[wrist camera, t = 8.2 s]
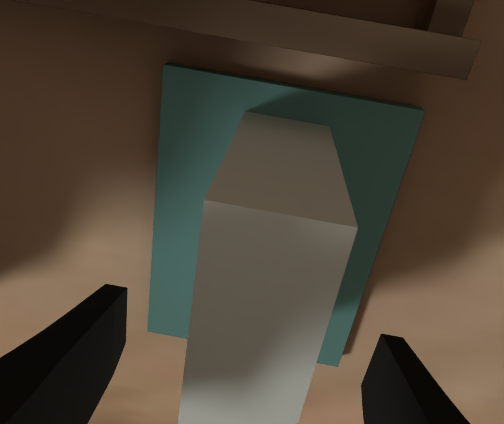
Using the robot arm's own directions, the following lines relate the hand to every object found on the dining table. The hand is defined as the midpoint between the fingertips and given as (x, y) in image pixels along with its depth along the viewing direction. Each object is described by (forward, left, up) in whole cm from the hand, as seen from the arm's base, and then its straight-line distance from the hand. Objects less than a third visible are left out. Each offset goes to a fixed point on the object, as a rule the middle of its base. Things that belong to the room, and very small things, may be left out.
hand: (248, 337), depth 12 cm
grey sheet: (0, 0, -6) cm, 6 cm away
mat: (0, 0, -6) cm, 6 cm away
